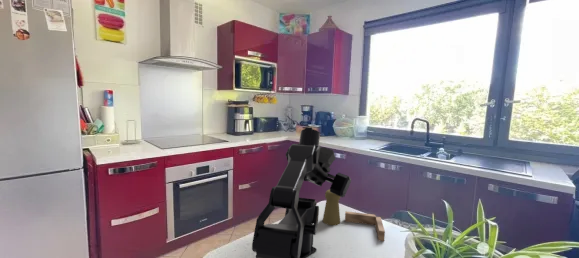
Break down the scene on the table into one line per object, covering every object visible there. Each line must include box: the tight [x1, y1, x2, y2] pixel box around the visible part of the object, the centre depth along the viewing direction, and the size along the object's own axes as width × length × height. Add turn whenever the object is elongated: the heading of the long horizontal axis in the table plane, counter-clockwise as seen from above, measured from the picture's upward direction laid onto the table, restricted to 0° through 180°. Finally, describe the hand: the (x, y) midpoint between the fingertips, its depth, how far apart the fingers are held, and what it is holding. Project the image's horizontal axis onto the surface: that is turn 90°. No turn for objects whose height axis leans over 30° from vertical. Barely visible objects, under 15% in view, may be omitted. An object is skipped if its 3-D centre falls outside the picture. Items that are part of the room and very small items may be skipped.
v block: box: [344, 210, 386, 242], centre depth 87 cm, size 8×16×3 cm, turn 33°
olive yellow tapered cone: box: [322, 189, 341, 227], centre depth 90 cm, size 6×6×11 cm
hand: (329, 184), depth 87 cm, fingers open, 9 cm apart
